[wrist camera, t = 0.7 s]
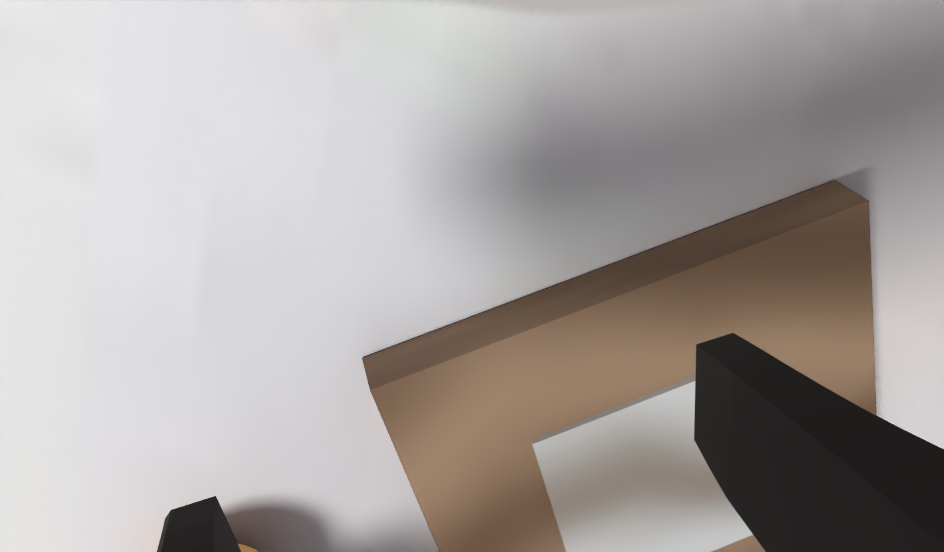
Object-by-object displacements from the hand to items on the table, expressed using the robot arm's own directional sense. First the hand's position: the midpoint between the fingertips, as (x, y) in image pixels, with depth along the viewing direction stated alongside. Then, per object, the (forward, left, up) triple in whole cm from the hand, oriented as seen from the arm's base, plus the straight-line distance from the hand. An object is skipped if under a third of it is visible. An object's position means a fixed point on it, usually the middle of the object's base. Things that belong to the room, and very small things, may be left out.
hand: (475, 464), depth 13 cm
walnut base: (-11, -5, -10) cm, 16 cm away
